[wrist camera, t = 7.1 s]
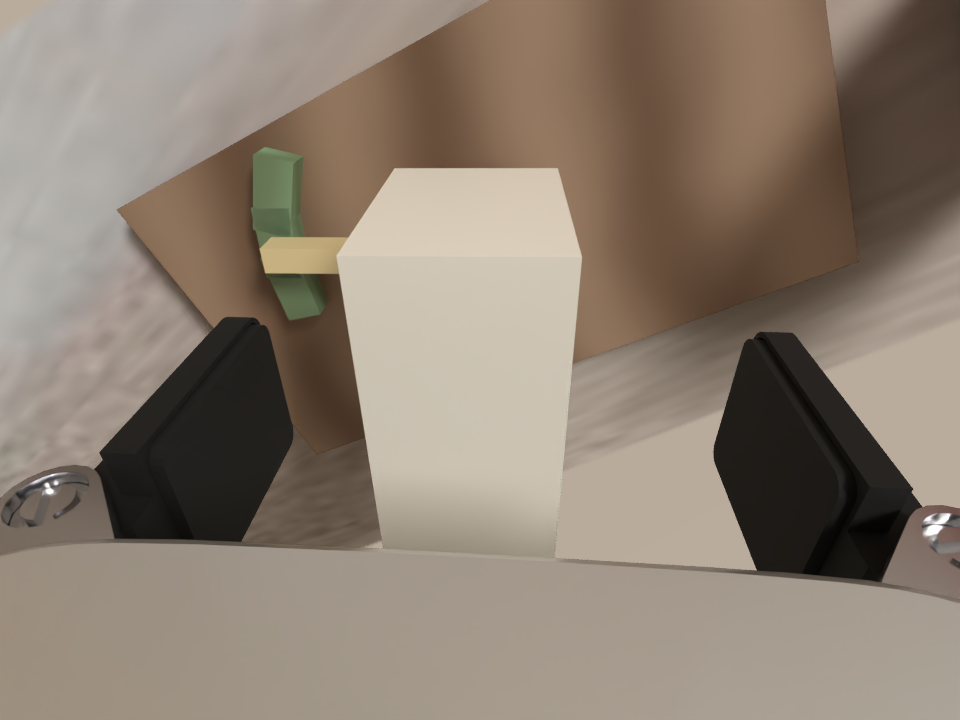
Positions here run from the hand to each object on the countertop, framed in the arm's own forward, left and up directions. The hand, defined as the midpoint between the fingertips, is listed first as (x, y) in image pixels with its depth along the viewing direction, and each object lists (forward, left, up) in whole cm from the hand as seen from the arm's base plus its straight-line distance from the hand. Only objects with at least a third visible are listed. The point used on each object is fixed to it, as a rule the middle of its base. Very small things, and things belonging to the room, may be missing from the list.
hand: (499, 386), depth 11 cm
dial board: (0, 0, -11) cm, 11 cm away
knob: (+3, +1, -9) cm, 9 cm away
